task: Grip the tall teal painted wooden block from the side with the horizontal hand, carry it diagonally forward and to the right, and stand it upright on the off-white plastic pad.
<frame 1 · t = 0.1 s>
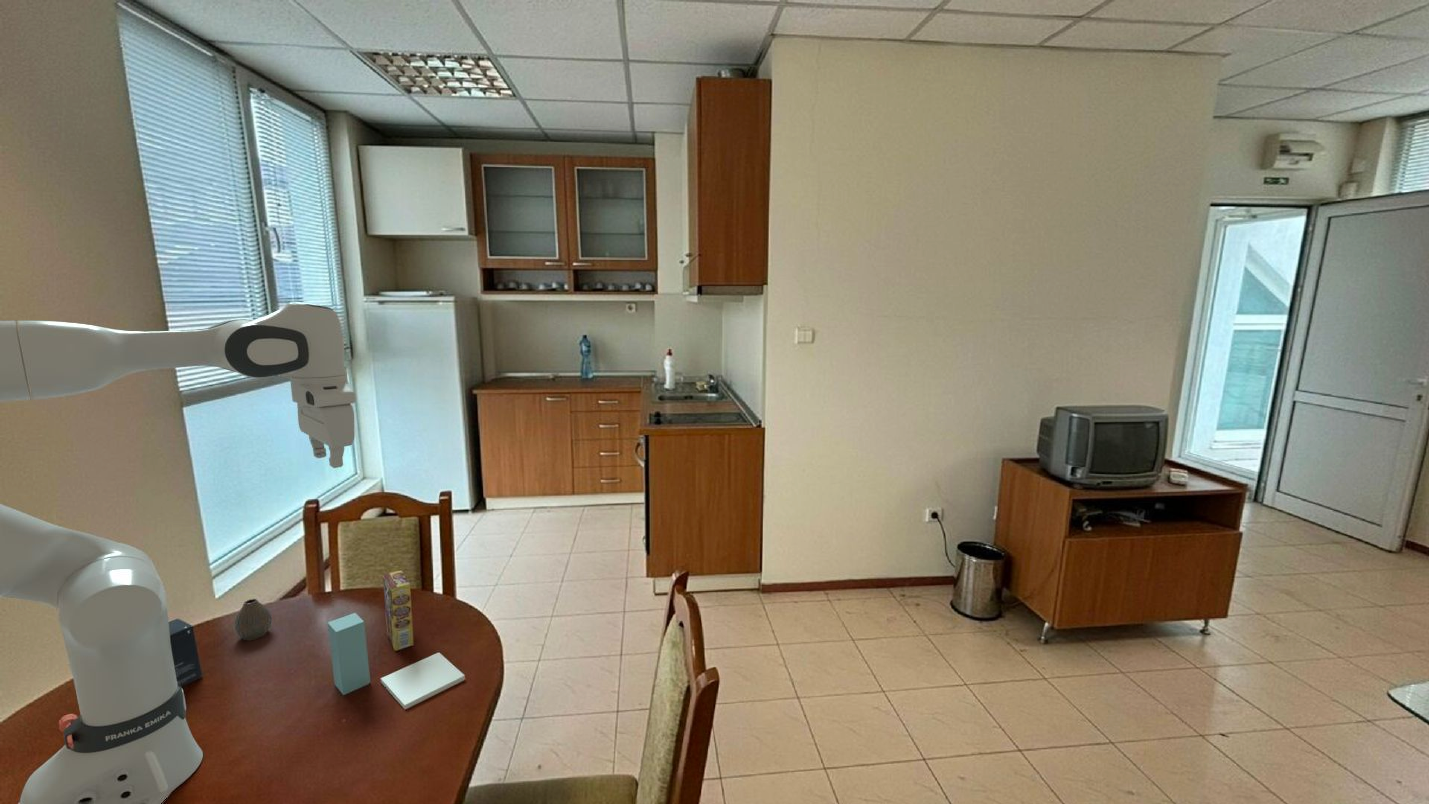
hand: (328, 461, 110), 48 cm above the table, tool pointing down, fingers open, 8 cm apart
vase: (255, 636, 136), on the table
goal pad: (423, 681, 121), on the table
small box: (155, 691, 117), on the table
teal block: (352, 683, 120), on the table
candy box: (401, 640, 135), on the table
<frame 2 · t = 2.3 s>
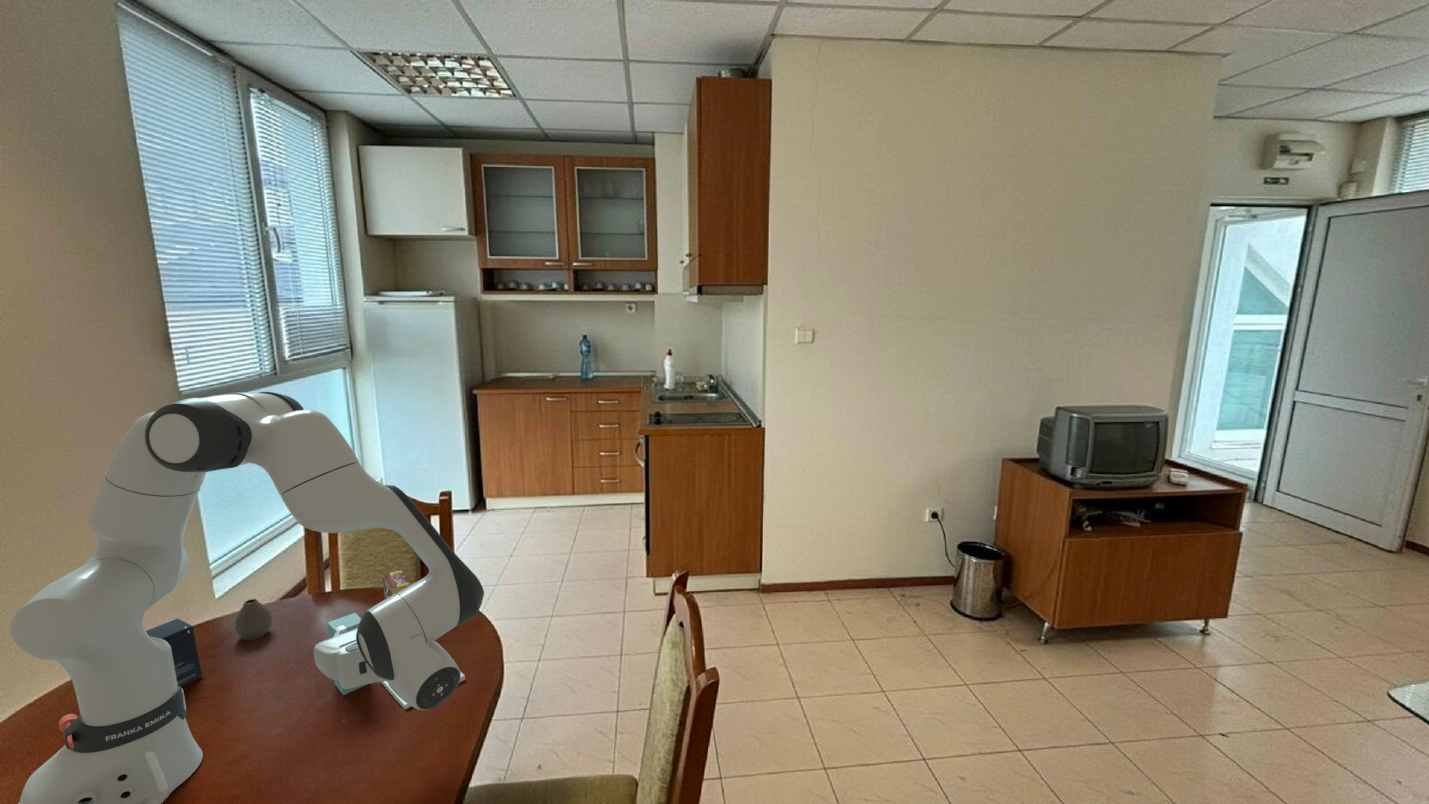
hand: (367, 619, 108), 20 cm above the table, tool horizontal, fingers open, 8 cm apart
nothing on the table moved.
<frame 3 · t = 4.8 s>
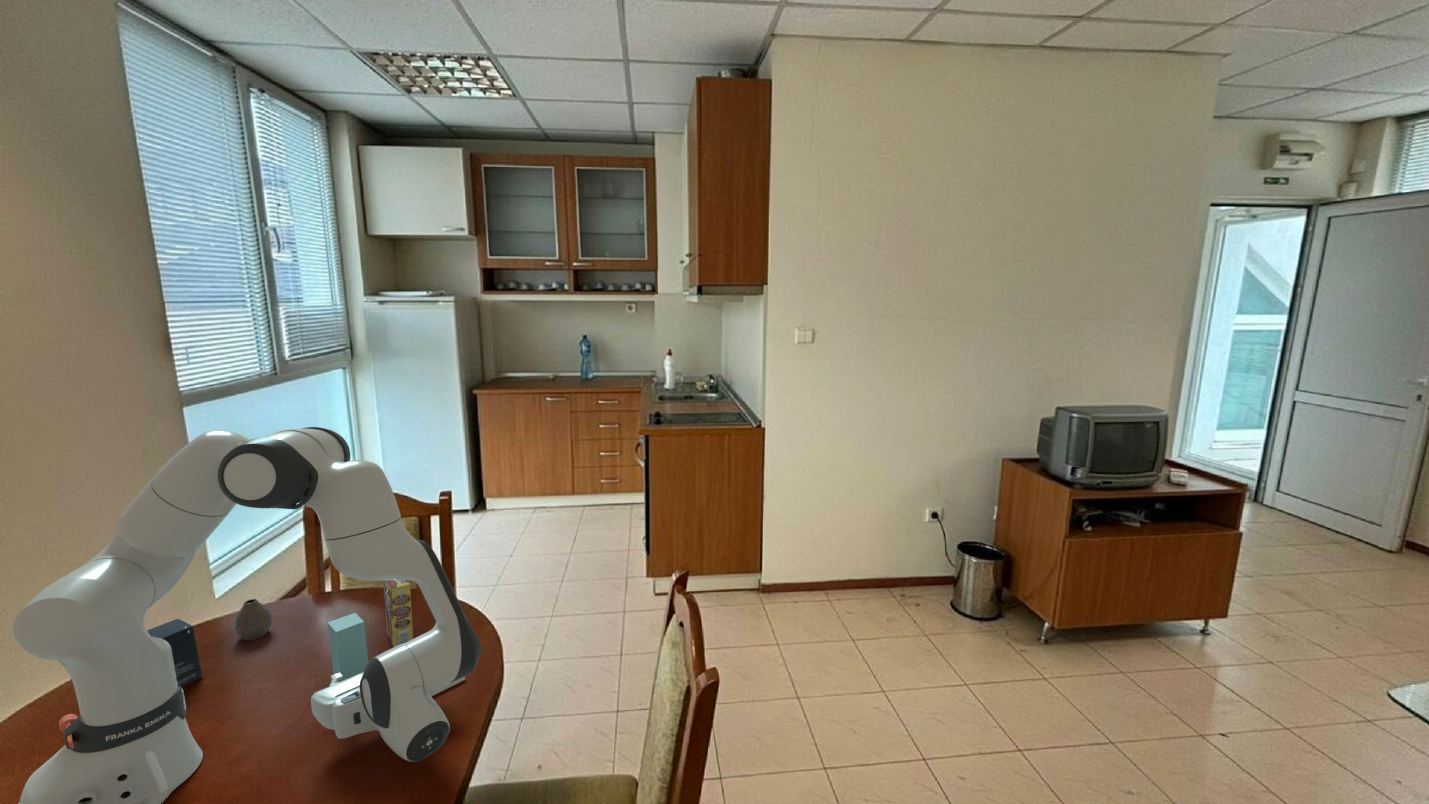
hand: (362, 665, 113), 8 cm above the table, tool horizontal, fingers open, 8 cm apart
nothing on the table moved.
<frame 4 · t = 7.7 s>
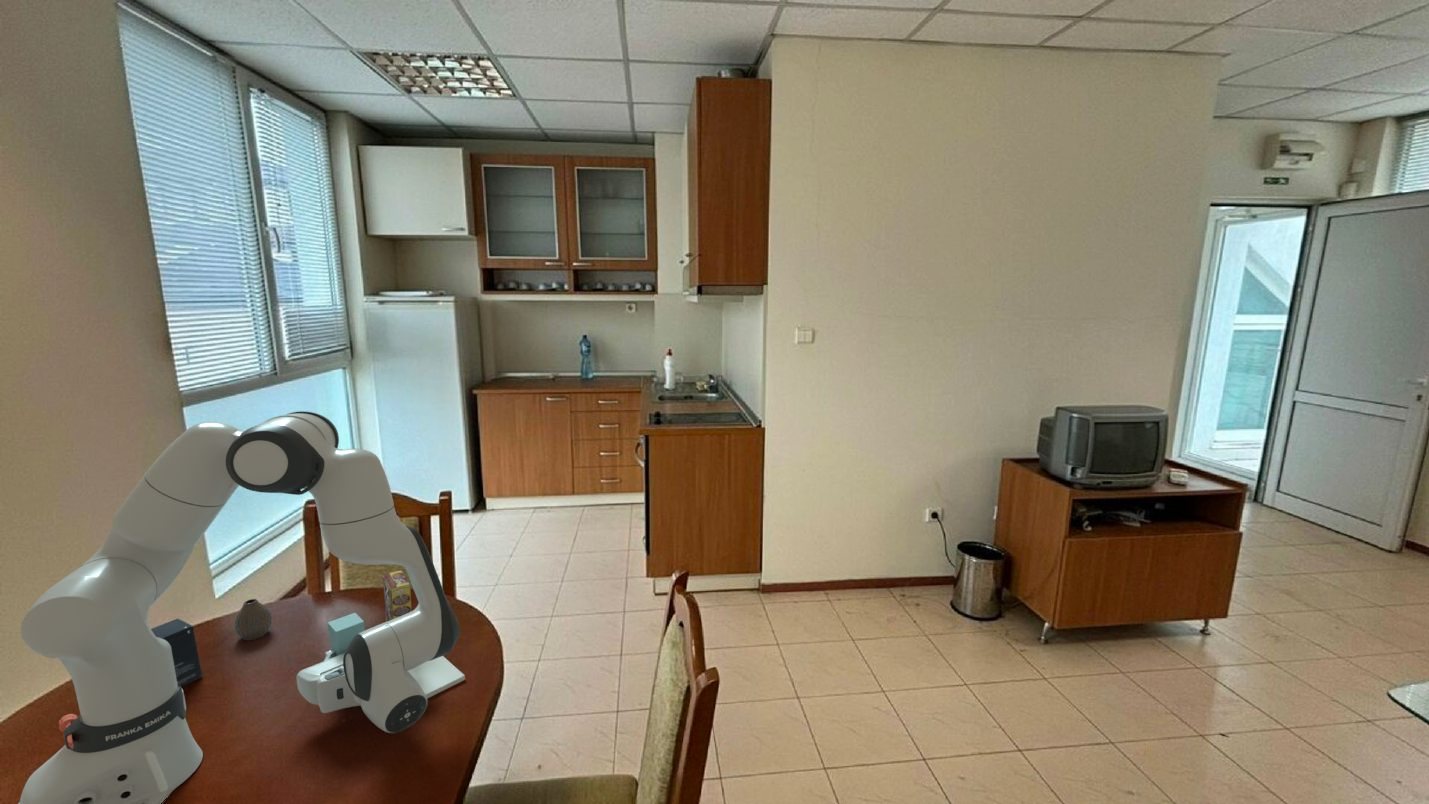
hand: (347, 646, 119), 8 cm above the table, tool horizontal, fingers closed on teal block, 5 cm apart
teal block: (352, 683, 120), on the table, touching gripper
everything else where it was.
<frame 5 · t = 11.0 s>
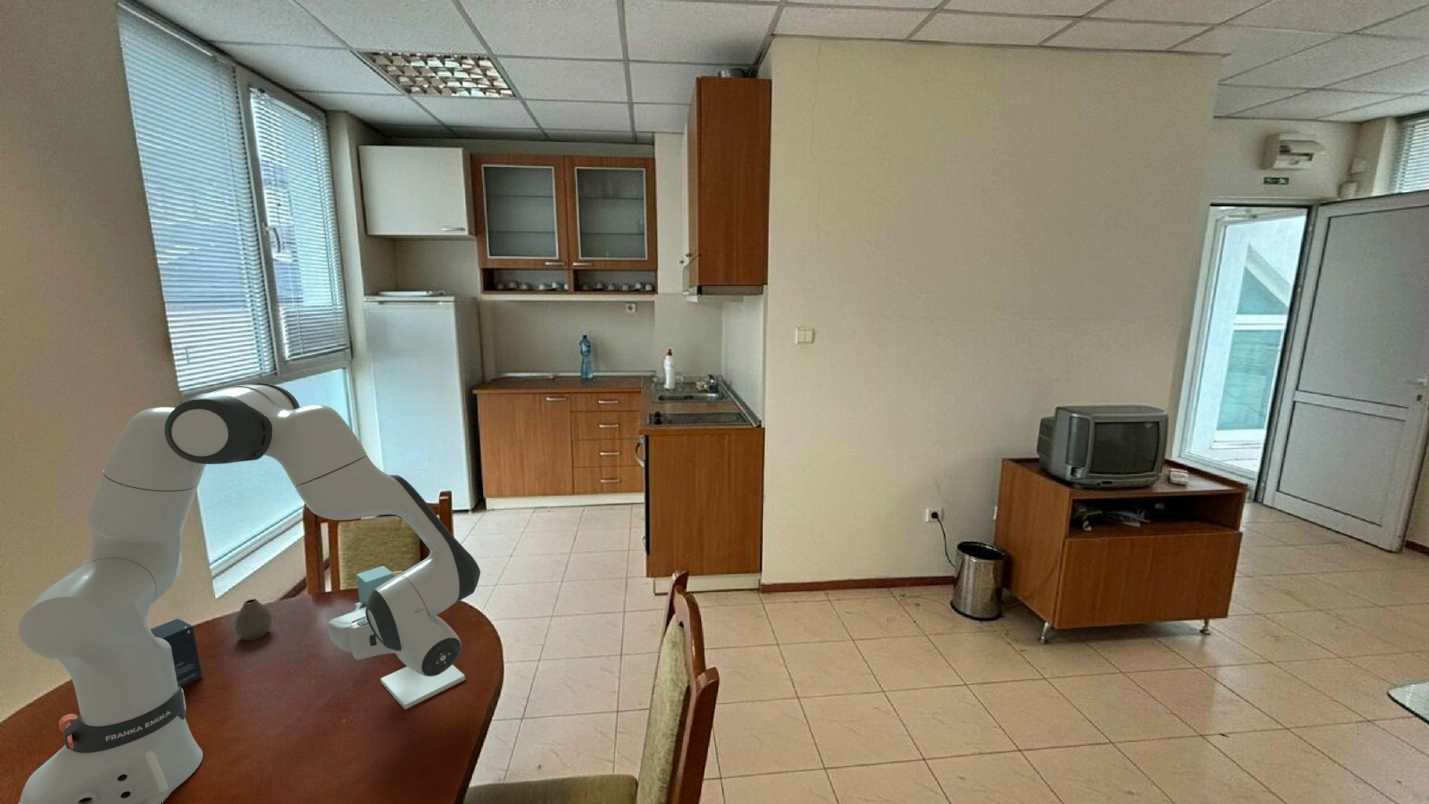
hand: (376, 599, 118), 18 cm above the table, tool horizontal, fingers closed on teal block, 5 cm apart
teal block: (382, 637, 119), point 10 cm above the table, touching gripper
everything else where it was.
when the fingers open (10 cm above the table, at t = 14.5 s): teal block stays where it is, resting on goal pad.
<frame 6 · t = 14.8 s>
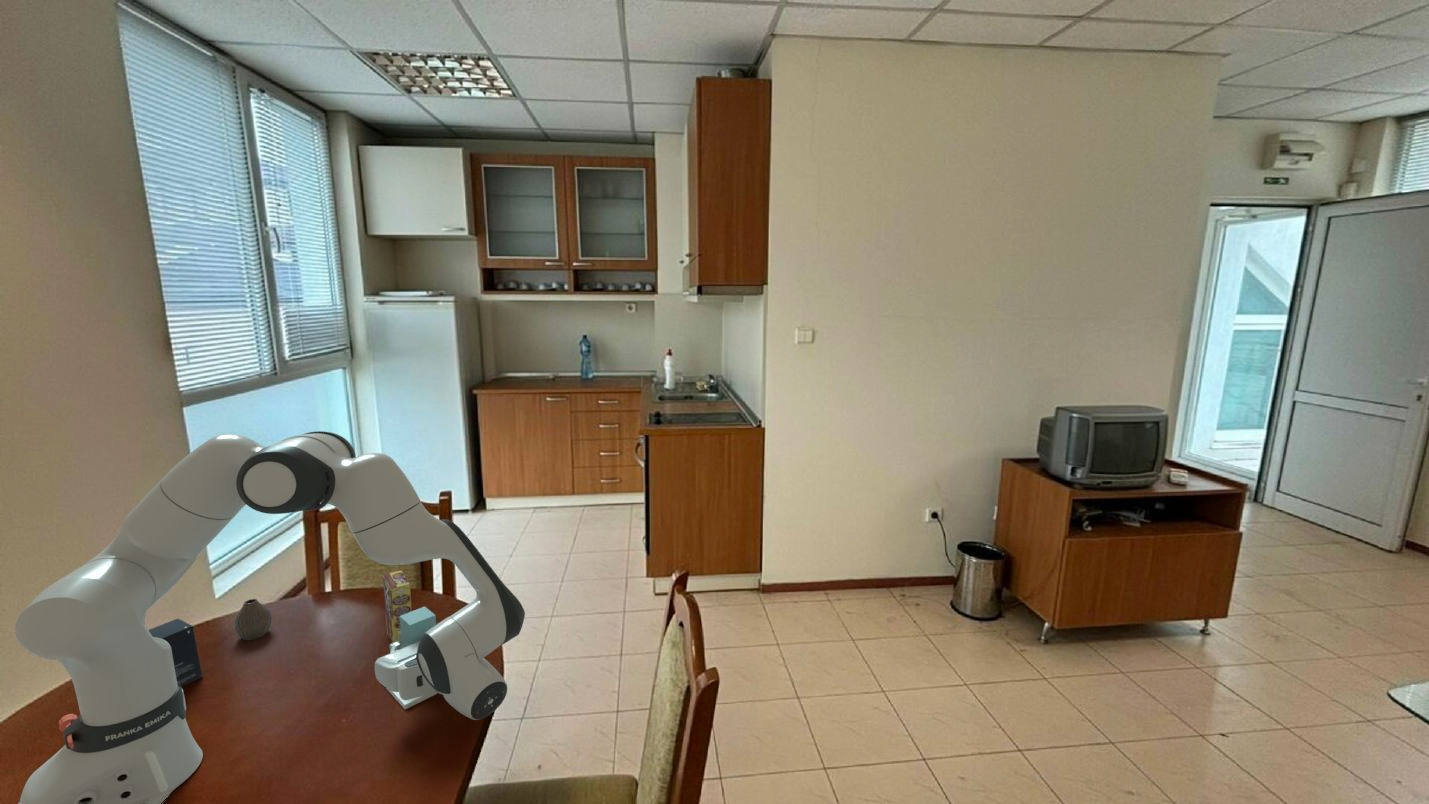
hand: (417, 636, 120), 10 cm above the table, tool horizontal, fingers open, 8 cm apart
teal block: (422, 677, 121), point 1 cm above the table, touching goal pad
everything else where it was.
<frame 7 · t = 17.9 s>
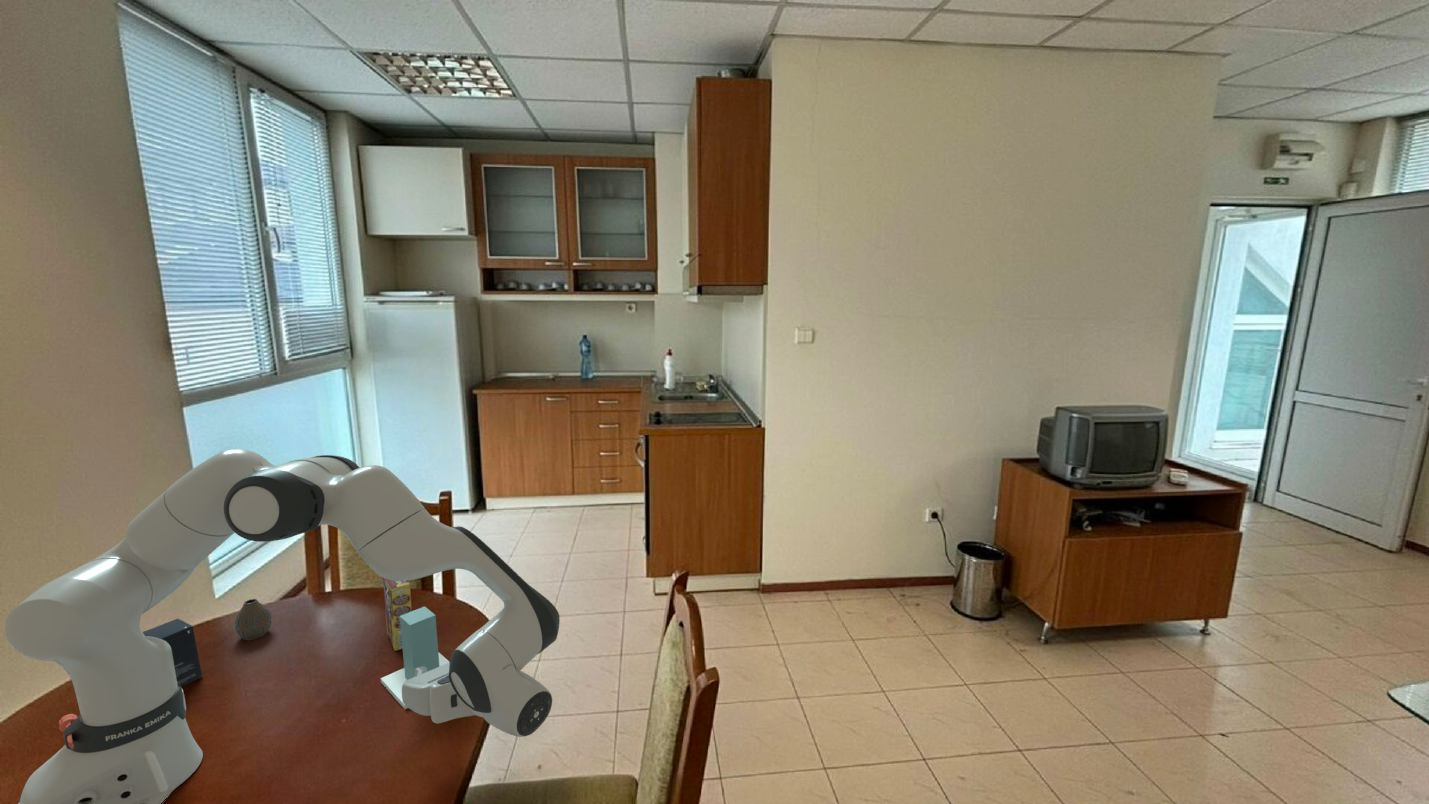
hand: (443, 660, 110), 11 cm above the table, tool horizontal, fingers open, 8 cm apart
nothing on the table moved.
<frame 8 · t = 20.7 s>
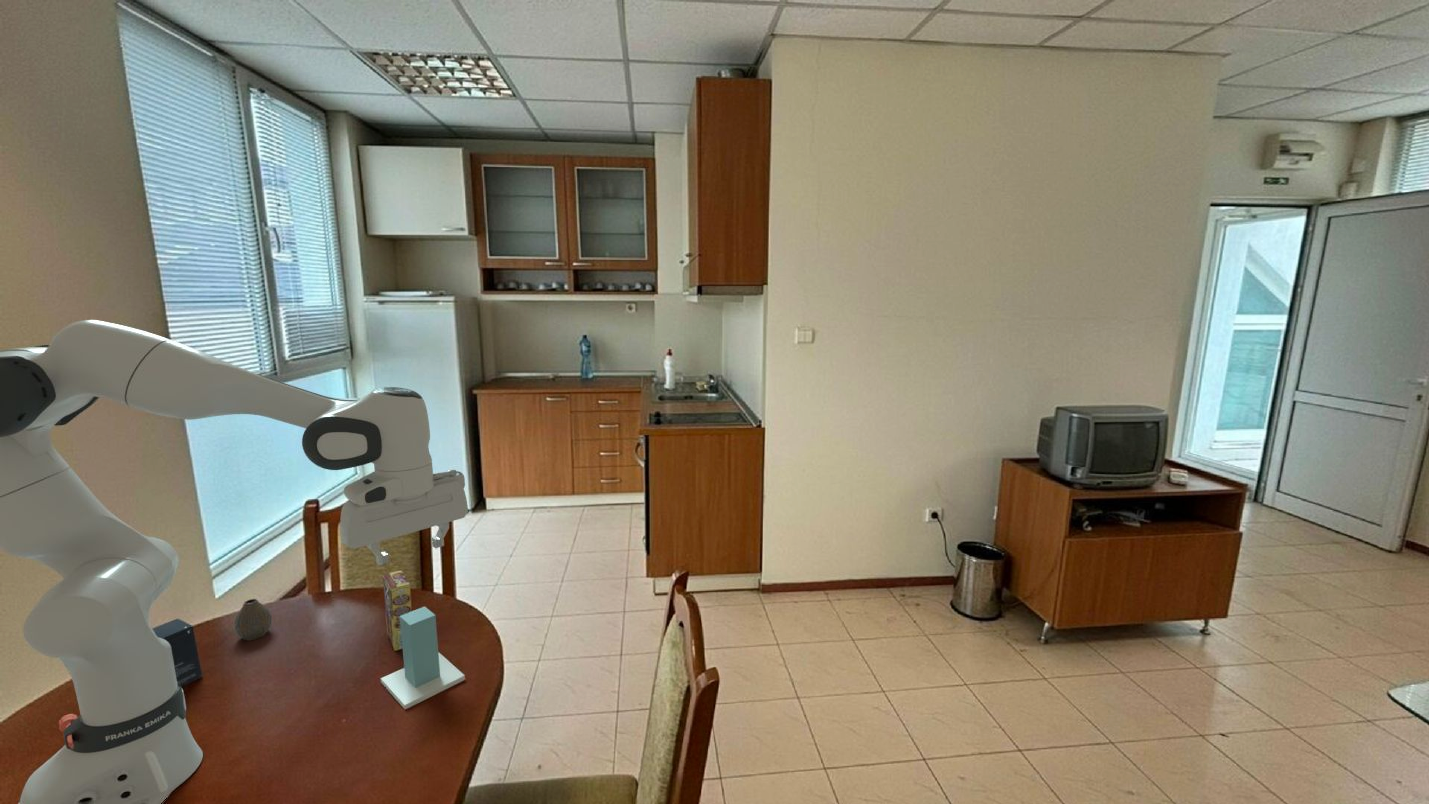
hand: (411, 554, 103), 34 cm above the table, tool pointing down, fingers open, 8 cm apart
nothing on the table moved.
at the end: teal block inside the target area on the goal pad (0.0 cm from its centre), point 1.0 cm above the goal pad's base; teal block tilted 0°; the gripper is holding nothing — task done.
